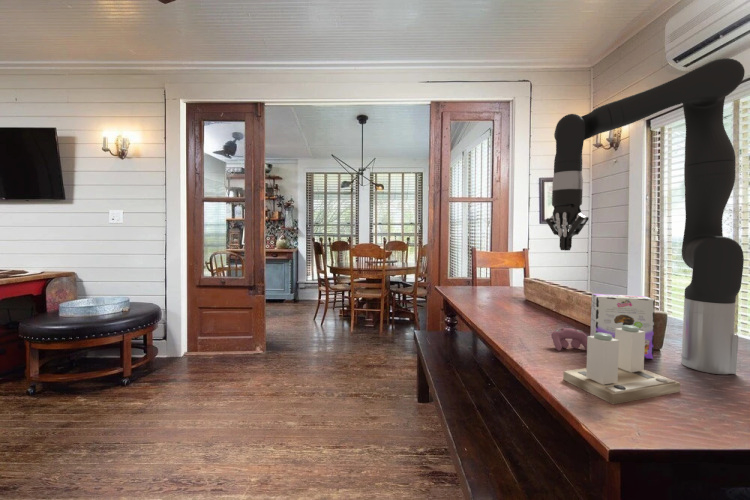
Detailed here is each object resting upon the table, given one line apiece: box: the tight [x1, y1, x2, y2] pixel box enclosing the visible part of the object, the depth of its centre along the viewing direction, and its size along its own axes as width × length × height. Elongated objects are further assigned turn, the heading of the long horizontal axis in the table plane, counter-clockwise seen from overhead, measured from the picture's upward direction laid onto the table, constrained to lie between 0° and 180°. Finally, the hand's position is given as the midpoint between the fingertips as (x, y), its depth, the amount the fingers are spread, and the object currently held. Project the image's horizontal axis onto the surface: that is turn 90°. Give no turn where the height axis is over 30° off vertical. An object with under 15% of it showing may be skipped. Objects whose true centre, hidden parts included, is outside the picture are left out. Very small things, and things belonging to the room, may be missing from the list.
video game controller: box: [550, 327, 588, 352], centre depth 102 cm, size 10×5×7 cm, turn 85°
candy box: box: [589, 293, 656, 360], centre depth 98 cm, size 14×6×16 cm, turn 71°
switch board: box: [563, 367, 681, 405], centre depth 77 cm, size 12×19×2 cm, turn 107°
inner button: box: [615, 325, 645, 372], centre depth 81 cm, size 4×4×10 cm
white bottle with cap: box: [585, 332, 619, 385], centre depth 74 cm, size 4×4×10 cm
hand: (565, 250), depth 99 cm, fingers closed
